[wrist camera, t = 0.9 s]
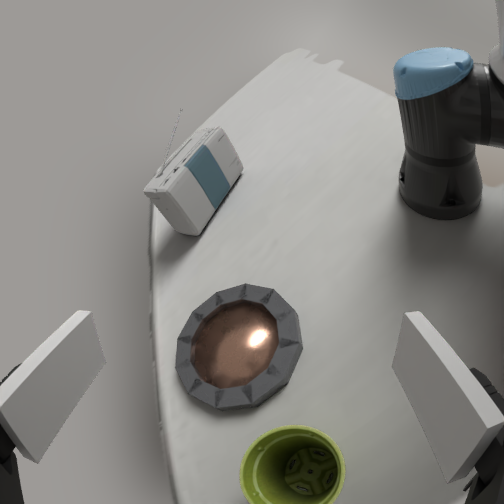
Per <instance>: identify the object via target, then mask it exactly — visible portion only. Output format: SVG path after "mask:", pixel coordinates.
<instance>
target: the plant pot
mask: <svg viewBox="0 0 504 504" xmlns="http://www.w3.org/2000/svg"><path fill="white" fill-rule="evenodd" d="M315 451H318V452H322V453H324V456H321V455H319V454H315V453H313V452H315ZM293 460H296V462H295V463H294V465H293V467H292V468H291V470H290V465H291V463H292V461H293ZM308 470H312V471H313V472H312V473H311V474H310V473H308ZM331 473H333V477H332V479H331V481H330V482H329V483H326V482H327V480H328V479H329V477H330V474H331ZM239 478H240V485H241V489H242V492H243V494H244V496H245V498H246V499H247V501H248V502H249V503H250V504H333V503H334V501H335V500H336V499H337V497H338V496H339V494H340V492H341V490H342V487H343V484H344V480H345V461H344V458H343V455H342V453H341V450H340V449H339V447H338V446H337V444H336V443H335V442H334V441H333V440H332V439H331V438H330V437H329V436H328V435H326V434H325V433H323V432H321V431H319V430H317V429H315V428H312V427H308V426H303V425H287V426H282V427H278V428H275V429H272V430H270V431H268V432H266V433H264V434H263V435H261V436H260V437H258V438H257V439H256V440H255V441H254V442H253V443H252V444H251V445H250V447H249V448H248V449H247V451H246V453H245V454H244V457H243V459H242V462H241V466H240V477H239ZM297 486H300V487H302V488H305V489H308V491H303V490H299V489H298V488H297Z"/></svg>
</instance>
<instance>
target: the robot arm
mask: <svg viewBox="0 0 504 504" xmlns="http://www.w3.org/2000/svg"><path fill="white" fill-rule="evenodd" d="M496 7H497V16H498V27H499V44H498V45H496V46H495V47H493V48H492V50H491V51H490V54H489V64H480V63H473V59H472V58H471V56H470V55H469V54H468V53H467V52H466V51H463V50H460V49H453V48H447V47H446V48H445V47H442V48H441V47H440V48H439V47H438V48H428V49H423V50H418V51H415V52H412V53H410V54H407V55H405V56H403V57H402V58H400V59H399V60H398V61H397V63H396V64H395V66H394V70H393V71H394V80H395V87H396V89H395V94H396V96H397V98H398V103H399V109H400V114H401V120H402V127H403V133H404V140H405V153H404V157H403V161H402V165H401V168H400V172H399V187H400V193H401V196H402V198H403V200H404V201H405V202H406V203H407V204H408V206H410V207H411V208H412V209H413V210H415V211H416V212H418V213H420V214H422V215H425V216H427V217H431V218H435V219H443V220H449V219H457V218H461V217H464V216H466V215H468V214H470V213H471V212H473V211H474V210H475V209H476V208H477V206H478V205H479V203H480V200H481V195H482V179H481V175H480V170H479V166H478V163H477V159H476V155H475V144H480V145H487V146H493V147H498V148H503V149H504V0H496ZM105 363H106V360H105V357H104V354H103V351H102V347H101V344H100V341H99V337H98V334H97V330H96V327H95V323H94V319H93V315H92V312H91V311H80V310H78V311H77V312H76V313H75V314H74V315H72V316H71V317H70V318H69V319H68V320H67V321H66V322H65V323H64V324H63V325H62V326H61V327H59V328H58V329H57V330H56V331H55V332H54V333H53V334H52V335H51V336H50V337H49V338H48V339H47V340H46V341H45V342H43V343H42V344H41V345H40V346H39V347H38V348H37V349H36V350H35V351H34V352H33V353H32V354H31V355H30V356H29V357H28V358H27V359H26V360H25V361H24V362H23V363H21V364H19V365H18V366H16V367H15V368H14V369H13V370H12V371H11V372H10V373H9V374H8V376H6V377H5V378H4V379H3V380H2V382H0V504H24V500H23V495H22V490H21V485H20V479H19V473H18V466H17V458H16V455H15V453H14V452H13V450H14V448H15V447H17V449H18V450H19V451H20V453H21V454H22V455H23V456H24V457H25V458H27V459H29V460H32V461H33V462H35V463H37V464H38V463H39V462H40V460H41V459H42V457H43V455H44V453H45V452H46V451H47V449H48V447H49V446H50V444H51V443H52V441H53V439H54V438H55V437H56V435H57V433H58V432H59V430H60V429H61V427H62V426H63V424H64V423H65V421H66V419H67V418H68V417H69V415H70V414H71V412H72V411H73V409H74V408H75V406H76V405H77V403H78V402H79V400H80V399H81V398H82V396H83V395H84V393H85V392H86V390H87V389H88V388H89V386H90V385H91V383H92V382H93V380H94V379H95V378H96V376H97V374H98V373H99V372H100V370H101V369H102V368H103V366H104V365H105ZM392 368H393V370H394V372H395V374H396V375H397V377H398V379H399V381H400V383H401V385H402V387H403V389H404V391H405V393H406V395H407V397H408V399H409V401H410V403H411V405H412V407H413V409H414V411H415V413H416V415H417V417H418V419H419V422H420V424H421V426H422V428H423V430H424V432H425V434H426V436H427V439H428V441H429V443H430V445H431V447H432V450H433V452H434V454H435V456H436V459H437V461H438V463H439V466H440V468H441V470H442V473H443V475H444V477H445V480H446V482H447V484H448V483H451V482H453V481H456V480H458V479H461V478H463V477H466V476H467V475H468V473H469V472H470V471H471V470H472V468H473V467H474V466H475V468H476V470H477V474H476V475H475V476H474V477H473V478H472V479H471V481H470V482H469V483H468V484H467V485H466V486H465V488H464V490H463V491H466V490H467V489H468V488H469V487H470V486H471V487H470V490H469V493H468V496H467V499H466V501H465V504H504V399H503V398H502V396H501V395H500V394H499V393H497V390H496V389H495V387H494V386H492V384H491V382H490V381H489V380H488V379H487V377H486V376H485V375H484V374H483V373H481V372H480V371H478V370H477V369H475V368H471V369H468V368H467V366H466V365H465V364H464V363H463V361H462V360H461V359H460V358H459V356H458V355H457V354H456V353H455V352H454V350H453V349H452V348H451V347H450V346H449V344H448V343H447V342H446V341H445V340H444V338H443V337H442V336H441V335H440V334H439V332H438V331H437V330H436V329H435V328H434V327H433V326H432V324H431V323H430V322H429V321H428V320H427V319H426V318H425V316H424V315H423V314H422V313H421V312H420V311H416V312H405V313H404V316H403V321H402V326H401V330H400V335H399V339H398V343H397V348H396V352H395V356H394V359H393V363H392Z"/></svg>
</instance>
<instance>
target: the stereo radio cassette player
mask: <svg viewBox="0 0 504 504" xmlns="http://www.w3.org/2000/svg"><path fill="white" fill-rule="evenodd" d="M182 110H183V109H180V111H182ZM180 113H181V112H180ZM179 117H180V114H179V116H178V119H177V122H176V125H175V127H174V130H173V133H172V135H171V138H170V141H169V144H168V147H167V151H166V154H165V157H164V160H163V163H162V167H161V169H160V171H159V172H158V173H157V174H156V175H155V176H154V178H153V179H152V180H151V181H150V182H149V183H148V185H147V186H146V187H145V188H144V189H143V191H144V193H145V195H146V196H147V197H149V198H150V199H151V201H152V202H153V203H154V205H155V206H156V207H157V208H158V210H159V211H160V212H161V213H162V215H163V216H164V217H165V218H166V220H167V221H168V222H169V223H170V225H171V226H172V227H173V228H174V229H175V231H177V232H179V233H182V234H187V235H195V236H197V235H200V233H201V232H202V230H203V229H204V227H205V226H206V224H207V223H208V221H209V220H210V218H211V217H212V215H213V214H214V212H215V211H216V209H217V208H218V206H219V205H220V203H221V202H222V200H223V199H224V197H225V196H226V194H227V193H228V191H229V190H230V188H231V187H232V186H233V184H234V183H235V181H236V180H237V178H238V177H239V176H240V174H241V172H242V170H243V165H242V162H241V160H240V158H239V156H238V154H237V152H236V150H235V149H234V147H233V145H232V143H231V141H230V140H229V138H228V136H227V134H226V133H225V131H224V130H223V129H222V128H221V127H215V128H211V129H209V128H208V129H204V130H200V131H197V132H195V133H194V134H193V135H192V136H191V137H190V138H189V139H188V140H187V141H186V142H185V143H184V144H183V145H182V146H181V147H180V148H179V149H178V151H177V152H176V153H175V154H174V155H173V156H172V157H171V158H170V159H169V160H168V162H167V163H166V164H165V161H166V158H167V155H168V151H169V148H170V145H171V142H172V139H173V136H174V133H175V129H176V126H177V123H178V120H179ZM164 164H165V165H164Z"/></svg>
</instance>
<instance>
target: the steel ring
mask: <svg viewBox="0 0 504 504" xmlns="http://www.w3.org/2000/svg"><path fill="white" fill-rule="evenodd" d="M302 349H303V345H302V339H301V332H300V326H299V319H298V315H297V313H296V312H295V310H294V309H293V308H292V307H291V306H290V305H289V304H288V303H287V302H286V301H285V300H284V299H283V298H282V297H281V296H280V295H279V294H278V293H277V292H276V291H275V290H274V289H270V288H265V287H260V286H255V285H250V284H243V285H240V286H236V287H233V288H229V289H226V290H223V291H219V292H216V293H215V294H214V295H213V296H211V297H210V298H209V299H208V300H206V301H205V302H204V303H203V304H202V305H200V306H199V307H198V308H197V309H195V310H194V311H193V312H192V314H191V315H190V317H189V319H188V321H187V323H186V324H185V326H184V328H183V330H182V332H181V333H180V335H179V337H178V340H177V352H176V367H175V369H176V370H177V372H178V374H179V376H180V378H181V380H182V382H183V384H184V386H185V388H186V390H187V392H188V394H189V395H191V396H194V397H196V398H197V399H199V400H201V401H203V402H205V403H207V404H209V405H211V406H213V407H215V408H217V409H219V410H221V411H225V410H234V409H242V408H249V407H256V406H259V405H260V404H261V403H263V402H264V401H265V400H267V399H268V398H269V397H271V396H272V395H273V394H274V393H276V392H277V391H278V390H280V389H281V388H282V387H283V386H285V385H286V384H287V383H288V382H289V380H290V377H291V375H292V373H293V371H294V368H295V366H296V363H297V361H298V359H299V356H300V354H301V352H302Z"/></svg>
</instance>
